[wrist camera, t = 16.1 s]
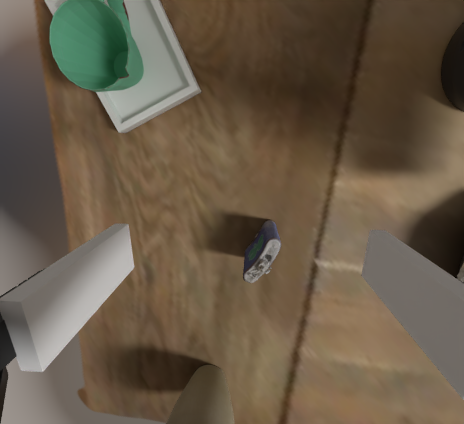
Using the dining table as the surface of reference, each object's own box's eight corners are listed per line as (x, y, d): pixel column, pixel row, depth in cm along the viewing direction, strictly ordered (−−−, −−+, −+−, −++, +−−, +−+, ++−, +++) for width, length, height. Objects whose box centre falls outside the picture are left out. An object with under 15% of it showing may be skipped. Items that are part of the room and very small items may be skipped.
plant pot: (250, 365, 56) (251, 450, 41) (226, 405, 60) (219, 495, 45) (190, 342, 55) (169, 421, 40) (171, 385, 59) (144, 470, 44)
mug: (159, 105, 39) (130, 94, 30) (101, 99, 40) (54, 87, 30) (159, -4, 35) (126, -57, 25) (94, -10, 35) (36, -64, 26)
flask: (267, 217, 45) (273, 240, 34) (280, 224, 45) (289, 250, 35) (241, 254, 47) (239, 286, 37) (253, 261, 48) (255, 295, 37)
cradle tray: (138, -48, 34) (130, -62, 32) (201, 92, 39) (198, 89, 37) (57, 9, 37) (44, 0, 34) (126, 132, 42) (118, 132, 39)
